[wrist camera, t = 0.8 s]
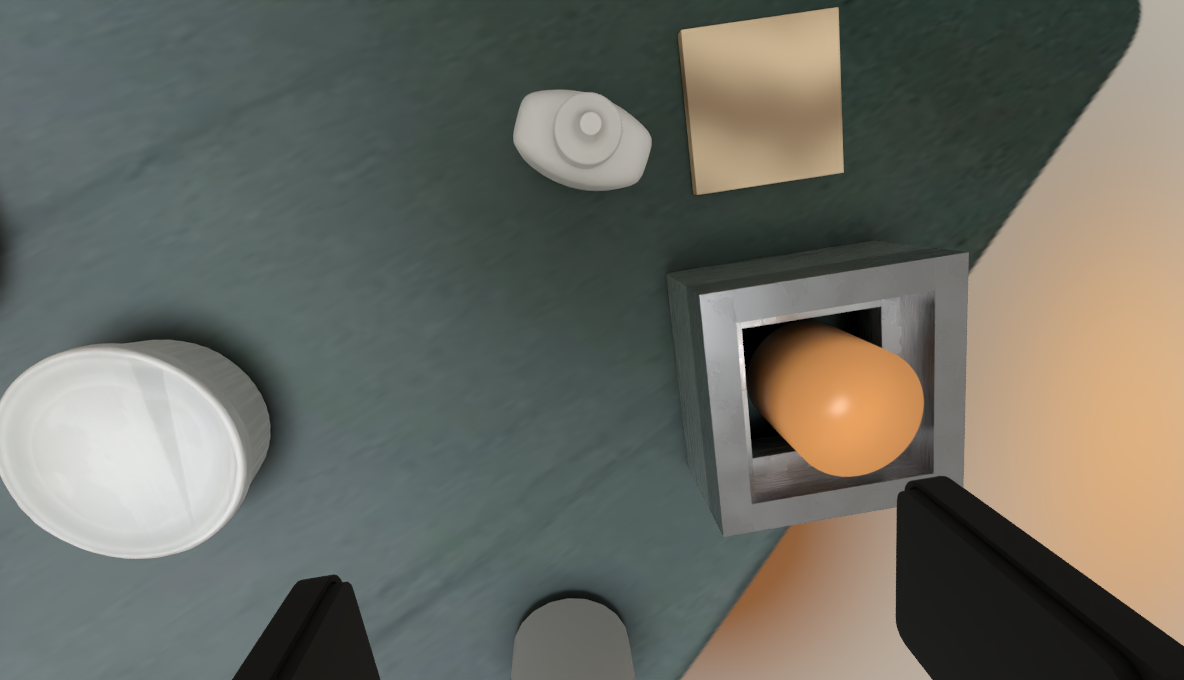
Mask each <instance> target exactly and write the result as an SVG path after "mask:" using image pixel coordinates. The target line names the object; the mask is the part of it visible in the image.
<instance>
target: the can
mask: <svg viewBox="0 0 1184 680" xmlns="http://www.w3.org/2000/svg"><path fill="white" fill-rule="evenodd" d="M511 680H635V674H634V668H633V662H632V656H631V650H630V644H629V640H628V635H627V631H626V627H625V626H624V624H623V623H622V622H621V620H620V619H619V617H618V616H617V614H615V613H614V612H613V611H611V610H610V609H608V608H607V607H606V606H604V605H602V604H599V603H596V602H593V601H590V600H587V599H572V598H567V599H563V600H558V601H554V602H550V603H548V604H546V605H544V606H542V607H540V608H539V609H537V610H535V611H533V612H532V613H531V614H530V615H529V617H528V618H527V619H526V620H525V621H524V622H523V623H522V624H521V626H520V628H519V630H518V632H517V634H516V636H515V640H514V651H513V662H512V673H511Z"/></svg>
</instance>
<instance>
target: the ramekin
mask: <svg viewBox="0 0 1184 680" xmlns="http://www.w3.org/2000/svg"><path fill="white" fill-rule="evenodd" d="M270 428H271V425H270V421H269V414H268V411H267V407H266V403H265V402H264V400H263V398H262V395H261V393H260V392H259V391H258V389H257V387H256V385H255V384H254V383H253V382H252V381H251V379H250V378H249V376H248V375H247V374H245V373H244V372H243V371H242V370H241V369H240V368H239V367H238V366H237V365H235V364H234V363H233V362H232V361H230V360H229V359H227V358H226V357H224V356H223V355H221V354H220V353H218V352H215V351H213V350H211V349H209V348H207V347H203V346H200V345H198V344H194V343H188V342H184V341H175V340H147V341H139V342H131V343H124V344H118V343H104V344H92V345H85V346H81V347H76V348H73V349H70V350H66V351H63V352H61V353H58V354H55V355H53V356H50V357H48V358H46V359H44V360H42V361H40V362H38V363H36V364H35V365H33V366H32V367H30V368H29V369H27V370H26V371H25V372H24V373H22V374H21V375H20V376H19V377H18V378H17V379H16V380H15V381H14V382H13V383H12V384H11V385H10V386H9V388H8V389H7V390H6V392H5V394H4V395H3V397H2V398H1V401H0V475H1V478H2V480H3V482H4V484H5V486H6V487H7V489H8V491H9V492H10V494H11V495H12V497H13V498H14V499H15V501H16V502H17V504H18V505H19V507H20V508H21V509H22V510H23V511H24V512H25V513H26V514H27V515H28V516H29V517H30V518H31V519H32V520H33V521H34V522H35V523H36V524H37V525H38V526H40V527H41V528H43V529H44V530H46V531H47V532H49V533H50V534H52V535H54V536H56V537H58V538H60V539H61V540H63V541H66V542H68V543H70V544H72V545H74V546H77V547H79V548H82V549H84V550H87V551H90V552H94V553H98V554H102V555H107V556H111V557H118V558H127V559H143V558H156V557H163V556H167V555H171V554H176V553H180V552H183V551H186V550H189V549H191V548H193V547H195V546H197V545H199V544H200V543H202V542H204V541H205V540H207V539H209V538H210V537H211V536H213V535H214V534H215V533H216V532H218V531H219V530H220V529H221V528H222V527H223V526H224V525H225V524H226V523H227V522H228V521H229V520H230V519H231V518H232V517H233V516H234V514H235V513H236V512H237V510H238V509H239V507H240V506H241V504H242V502H243V501H244V499H245V497H246V495H247V492H248V490H249V486H250V484H251V482H252V481H253V479H254V477H255V476H256V474H257V472H258V471H259V469H260V467H261V465H262V463H263V461H264V460H265V458H266V455H267V450H268V448H269V441H270V437H271V434H270Z"/></svg>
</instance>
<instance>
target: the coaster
mask: <svg viewBox="0 0 1184 680" xmlns="http://www.w3.org/2000/svg"><path fill="white" fill-rule="evenodd" d="M678 45H679V55H680V65H681V75H682V85H683V95H684V105H685V116H686V126H687V136H688V146H689V156H690V166H691V176H692V187H693V195H701V194H707V193H714V192H720V191H727V190H733V189H740V188H746V187H753V186H759V185H766V184H772V183H779V182H785V181H792V180H798V179H805V178H811V177H818V176H824V175H831V174H837V173H844V167H843V136H842V105H841V74H840V43H839V12H838V7H836V8H829V9H822V10H815V11H808V12H802V13H795V14H788V15H781V16H774V17H767V18H760V19H753V20H746V21H740V22H733V23H726V24H719V25H712V26H705V27H698V28H691V29H685V30H681V31H680V32H679V33H678Z"/></svg>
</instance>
